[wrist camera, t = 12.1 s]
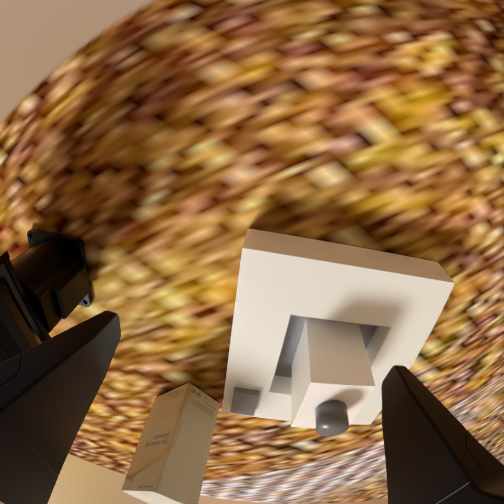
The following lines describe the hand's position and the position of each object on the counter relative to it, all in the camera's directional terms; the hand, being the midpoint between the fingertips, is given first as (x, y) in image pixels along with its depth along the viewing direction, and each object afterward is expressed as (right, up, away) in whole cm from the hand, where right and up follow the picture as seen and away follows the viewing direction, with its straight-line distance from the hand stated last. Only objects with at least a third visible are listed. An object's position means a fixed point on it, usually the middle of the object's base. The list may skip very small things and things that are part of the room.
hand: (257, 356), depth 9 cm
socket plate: (+5, -4, +14) cm, 16 cm away
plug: (+5, -4, +13) cm, 15 cm away
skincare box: (-7, -12, +20) cm, 25 cm away
